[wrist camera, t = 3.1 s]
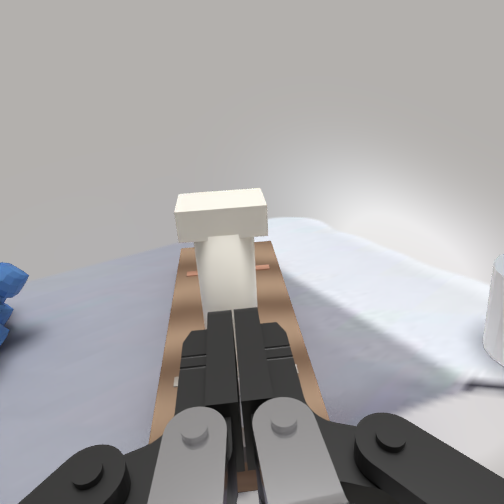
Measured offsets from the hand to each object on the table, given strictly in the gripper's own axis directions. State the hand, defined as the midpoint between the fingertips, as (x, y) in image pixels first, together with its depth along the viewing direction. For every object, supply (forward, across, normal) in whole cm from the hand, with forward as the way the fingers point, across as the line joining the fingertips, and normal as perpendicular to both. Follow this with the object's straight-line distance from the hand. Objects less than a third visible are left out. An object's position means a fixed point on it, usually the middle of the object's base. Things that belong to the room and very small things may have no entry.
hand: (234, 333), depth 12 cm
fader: (+9, 0, +11) cm, 14 cm away
